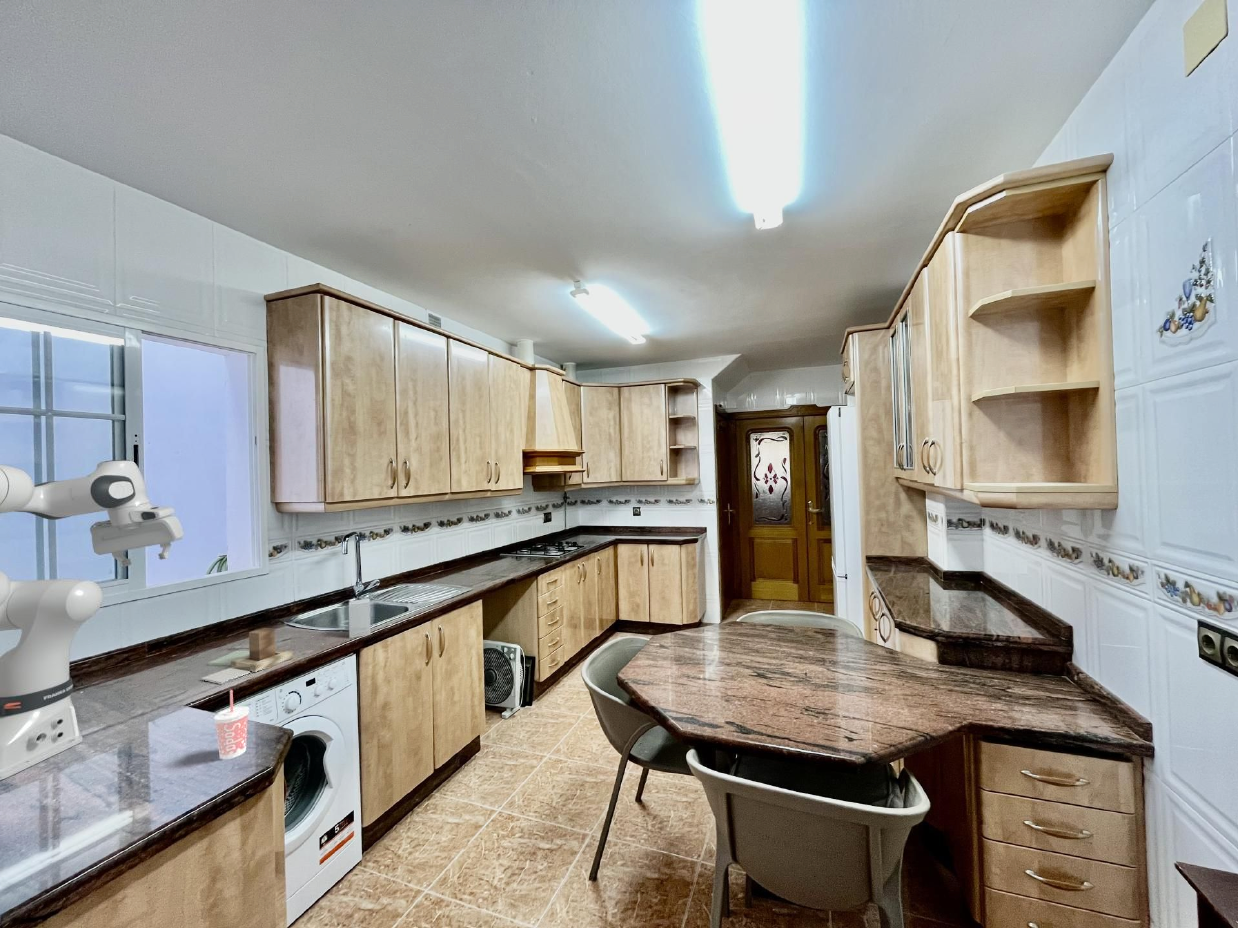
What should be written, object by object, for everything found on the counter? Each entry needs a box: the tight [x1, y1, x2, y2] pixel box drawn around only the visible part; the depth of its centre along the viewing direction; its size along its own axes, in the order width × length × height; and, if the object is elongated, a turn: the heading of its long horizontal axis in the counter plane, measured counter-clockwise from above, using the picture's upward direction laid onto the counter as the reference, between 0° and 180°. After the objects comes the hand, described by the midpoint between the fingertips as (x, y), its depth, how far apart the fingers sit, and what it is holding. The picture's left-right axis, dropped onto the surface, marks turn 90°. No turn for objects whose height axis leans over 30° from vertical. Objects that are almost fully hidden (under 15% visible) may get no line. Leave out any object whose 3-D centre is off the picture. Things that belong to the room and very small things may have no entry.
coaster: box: [207, 650, 249, 666], centre depth 167 cm, size 11×11×1 cm
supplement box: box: [348, 598, 371, 639], centre depth 189 cm, size 7×7×13 cm
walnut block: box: [248, 627, 276, 661], centre depth 161 cm, size 5×5×11 cm
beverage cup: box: [213, 689, 250, 760], centre depth 108 cm, size 6×6×14 cm
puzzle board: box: [200, 648, 294, 683], centre depth 157 cm, size 21×12×2 cm, turn 159°
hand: (145, 562), depth 140 cm, fingers open, 8 cm apart
